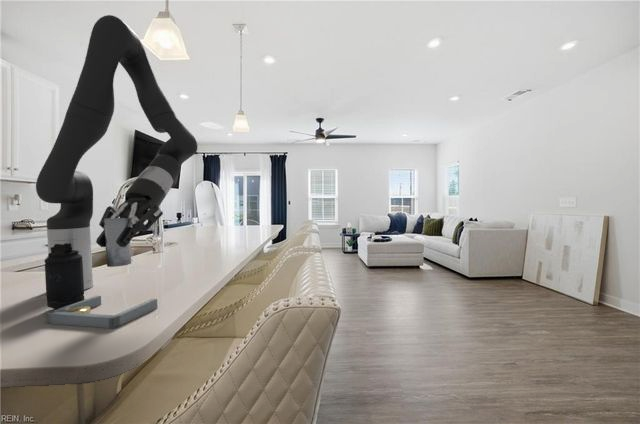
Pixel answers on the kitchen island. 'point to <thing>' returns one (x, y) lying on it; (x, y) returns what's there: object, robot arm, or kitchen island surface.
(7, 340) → the kitchen island surface
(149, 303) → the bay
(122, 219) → the post
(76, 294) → the black shouldered canister
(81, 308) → the washer
